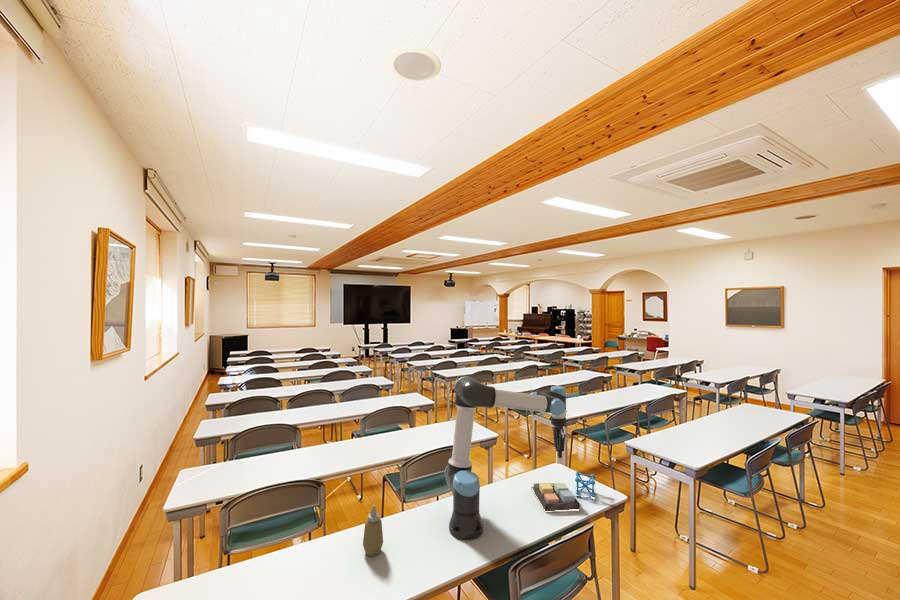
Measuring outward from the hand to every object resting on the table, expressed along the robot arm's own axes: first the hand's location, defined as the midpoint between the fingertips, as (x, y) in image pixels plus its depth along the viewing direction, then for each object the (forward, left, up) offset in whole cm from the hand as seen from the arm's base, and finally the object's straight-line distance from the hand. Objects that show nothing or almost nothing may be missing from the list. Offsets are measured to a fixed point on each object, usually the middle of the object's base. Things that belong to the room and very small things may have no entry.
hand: (559, 463), depth 187 cm
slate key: (+2, -6, -16) cm, 17 cm away
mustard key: (-6, +2, -16) cm, 17 cm away
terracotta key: (-6, -6, -17) cm, 19 cm away
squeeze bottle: (-90, -35, -20) cm, 98 cm away
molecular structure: (+16, +6, -20) cm, 26 cm away
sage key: (+2, +2, -16) cm, 16 cm away
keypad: (-2, +1, -19) cm, 20 cm away
